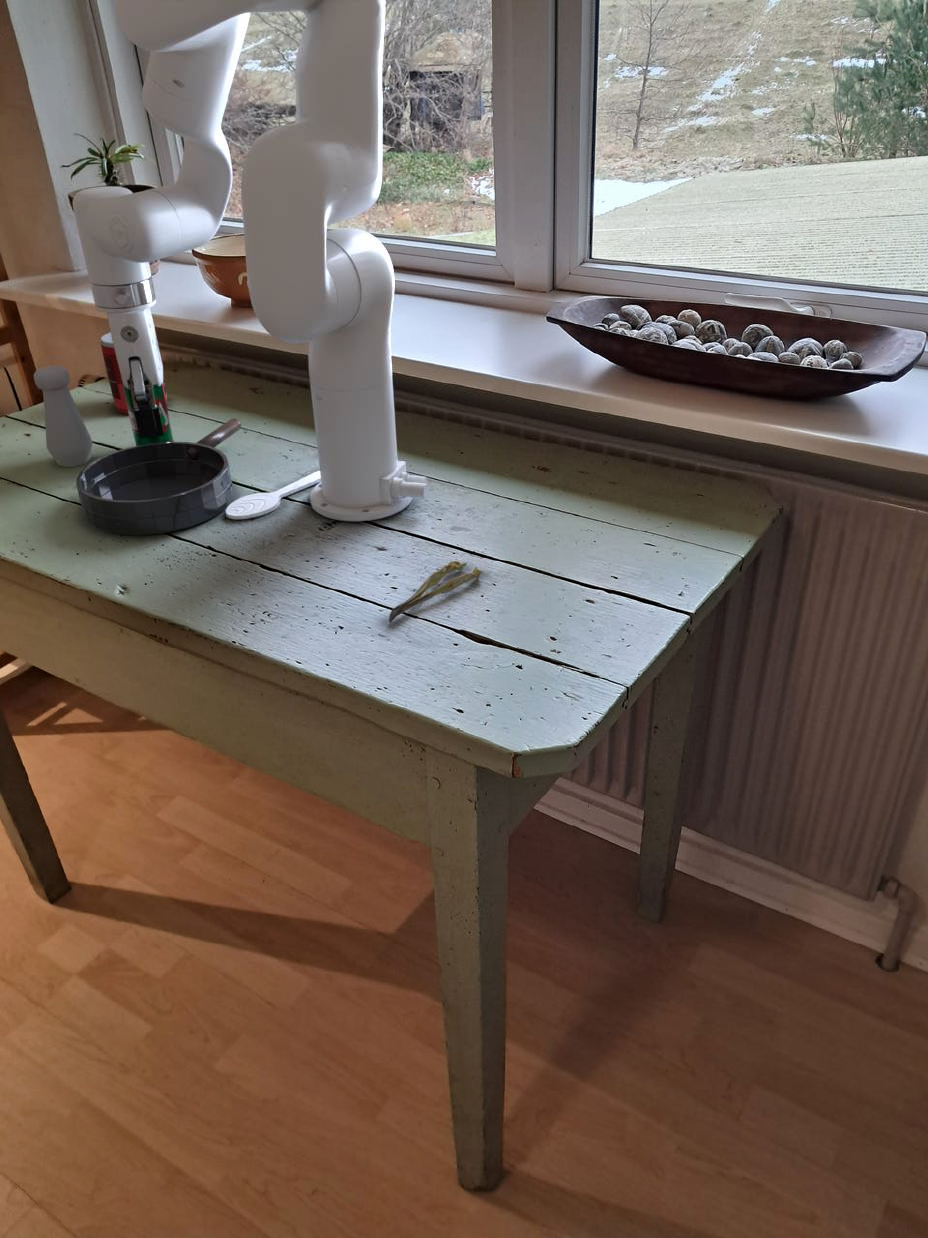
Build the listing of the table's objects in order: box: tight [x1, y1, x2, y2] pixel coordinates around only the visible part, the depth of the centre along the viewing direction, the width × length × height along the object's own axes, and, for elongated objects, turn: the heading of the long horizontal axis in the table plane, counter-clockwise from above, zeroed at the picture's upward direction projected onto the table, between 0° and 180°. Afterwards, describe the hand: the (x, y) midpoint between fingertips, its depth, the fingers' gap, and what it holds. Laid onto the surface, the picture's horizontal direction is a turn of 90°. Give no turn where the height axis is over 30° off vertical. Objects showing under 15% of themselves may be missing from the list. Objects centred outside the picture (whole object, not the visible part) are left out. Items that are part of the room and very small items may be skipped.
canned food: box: [99, 331, 168, 415], centre depth 147 cm, size 8×8×11 cm
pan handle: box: [187, 418, 242, 460], centre depth 129 cm, size 2×12×2 cm, turn 161°
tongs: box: [388, 560, 484, 625], centre depth 99 cm, size 4×13×2 cm, turn 145°
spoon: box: [225, 469, 321, 520], centre depth 122 cm, size 5×18×1 cm, turn 139°
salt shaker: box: [33, 365, 93, 468], centre depth 129 cm, size 6×6×13 cm
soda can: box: [121, 364, 175, 446], centre depth 131 cm, size 5×5×12 cm
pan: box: [75, 441, 234, 536], centre depth 119 cm, size 18×18×4 cm
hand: (151, 427), depth 132 cm, fingers closed on soda can, 5 cm apart
